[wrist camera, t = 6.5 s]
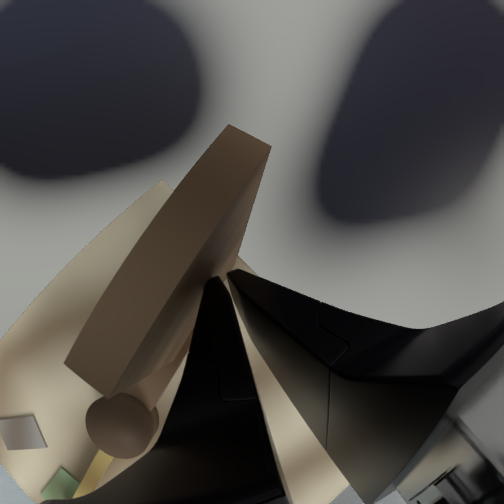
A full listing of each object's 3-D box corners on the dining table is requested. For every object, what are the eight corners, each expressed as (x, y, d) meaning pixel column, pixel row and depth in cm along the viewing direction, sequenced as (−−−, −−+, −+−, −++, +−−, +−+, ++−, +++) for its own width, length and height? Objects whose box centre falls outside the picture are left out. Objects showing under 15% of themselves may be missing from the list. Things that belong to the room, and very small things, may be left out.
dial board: (397, 416, 15) (408, 419, 14) (173, 592, 9) (171, 601, 8) (164, 187, 17) (161, 177, 16) (-33, 397, 11) (-43, 399, 10)
